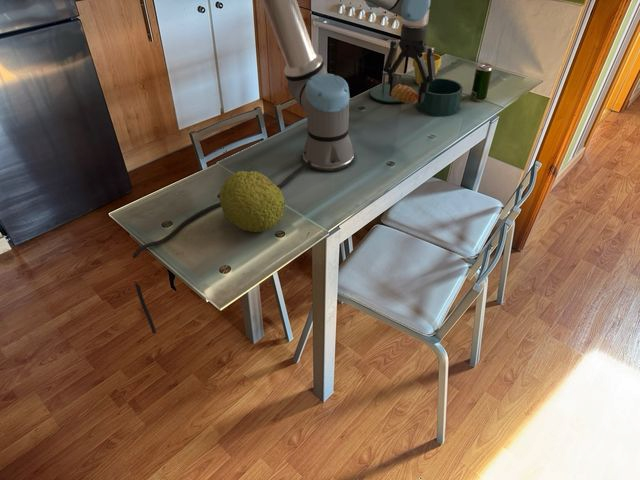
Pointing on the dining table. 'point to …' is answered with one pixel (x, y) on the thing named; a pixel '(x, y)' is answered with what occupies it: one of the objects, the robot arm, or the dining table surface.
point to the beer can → (481, 82)
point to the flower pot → (417, 72)
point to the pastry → (404, 94)
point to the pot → (441, 98)
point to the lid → (384, 91)
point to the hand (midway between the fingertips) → (406, 98)
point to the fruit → (251, 201)
